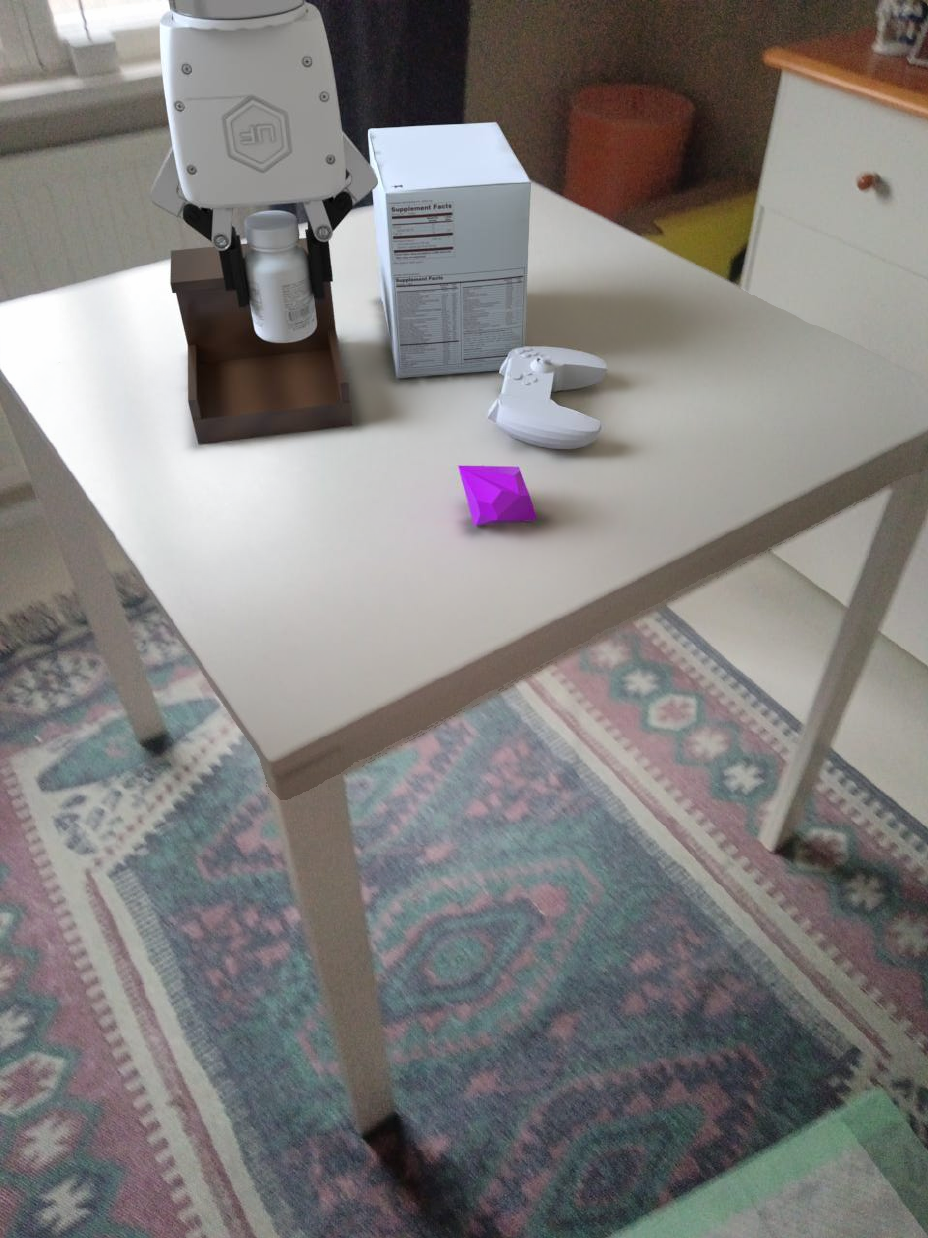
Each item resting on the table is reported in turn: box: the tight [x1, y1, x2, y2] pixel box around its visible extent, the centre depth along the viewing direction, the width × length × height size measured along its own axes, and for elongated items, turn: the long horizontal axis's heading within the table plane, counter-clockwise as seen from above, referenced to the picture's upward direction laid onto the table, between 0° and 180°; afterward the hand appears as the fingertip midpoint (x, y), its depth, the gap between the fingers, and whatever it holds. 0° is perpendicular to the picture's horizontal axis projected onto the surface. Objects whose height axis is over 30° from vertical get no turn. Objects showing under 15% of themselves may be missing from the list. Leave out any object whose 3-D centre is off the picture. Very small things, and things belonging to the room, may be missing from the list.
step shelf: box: [169, 237, 354, 445], centre depth 91 cm, size 14×16×11 cm
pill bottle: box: [243, 209, 317, 343], centre depth 66 cm, size 4×4×8 cm
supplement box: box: [367, 121, 532, 379], centre depth 96 cm, size 17×13×18 cm
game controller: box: [486, 345, 608, 450], centre depth 90 cm, size 14×4×10 cm
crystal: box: [457, 465, 539, 527], centre depth 79 cm, size 5×5×5 cm
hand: (281, 292), depth 67 cm, fingers closed on pill bottle, 4 cm apart
